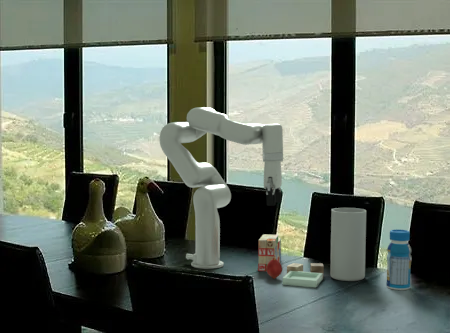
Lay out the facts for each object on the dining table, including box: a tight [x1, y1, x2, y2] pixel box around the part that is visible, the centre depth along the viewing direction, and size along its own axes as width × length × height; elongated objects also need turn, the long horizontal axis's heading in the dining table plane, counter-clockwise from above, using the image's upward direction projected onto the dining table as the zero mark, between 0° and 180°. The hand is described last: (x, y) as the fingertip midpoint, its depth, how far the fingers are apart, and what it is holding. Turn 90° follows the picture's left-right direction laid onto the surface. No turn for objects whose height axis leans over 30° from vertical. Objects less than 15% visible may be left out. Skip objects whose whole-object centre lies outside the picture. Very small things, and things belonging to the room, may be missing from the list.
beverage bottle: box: [386, 228, 412, 291], centre depth 250 cm, size 8×8×20 cm
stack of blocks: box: [257, 233, 282, 272], centre depth 284 cm, size 21×6×12 cm, turn 168°
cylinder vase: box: [329, 207, 367, 282], centre depth 264 cm, size 12×12×25 cm
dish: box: [282, 271, 324, 288], centre depth 258 cm, size 12×12×2 cm
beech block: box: [286, 262, 304, 274], centre depth 268 cm, size 4×6×4 cm, turn 151°
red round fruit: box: [265, 257, 283, 280], centre depth 262 cm, size 6×6×8 cm
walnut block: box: [309, 262, 325, 274], centre depth 266 cm, size 4×4×4 cm
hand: (274, 204), depth 266 cm, fingers open, 9 cm apart
